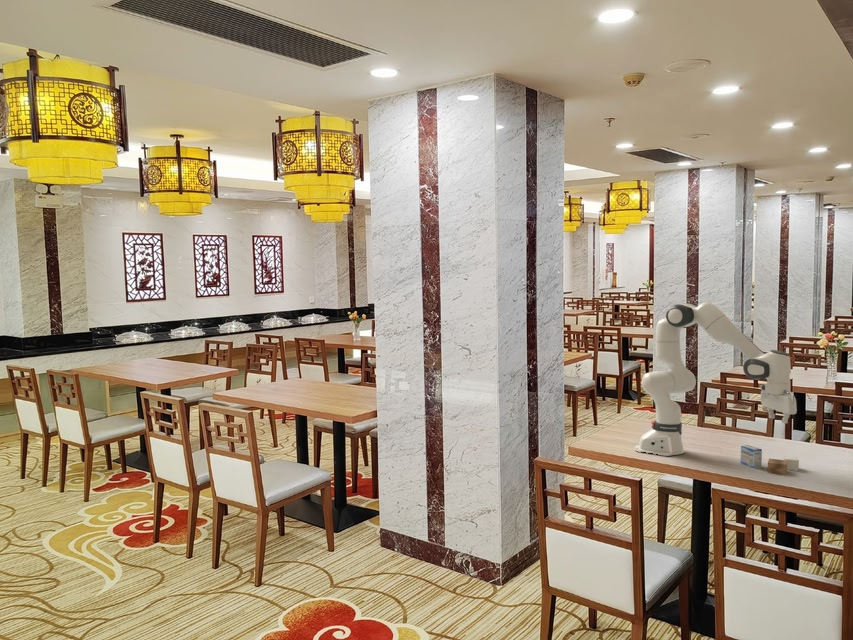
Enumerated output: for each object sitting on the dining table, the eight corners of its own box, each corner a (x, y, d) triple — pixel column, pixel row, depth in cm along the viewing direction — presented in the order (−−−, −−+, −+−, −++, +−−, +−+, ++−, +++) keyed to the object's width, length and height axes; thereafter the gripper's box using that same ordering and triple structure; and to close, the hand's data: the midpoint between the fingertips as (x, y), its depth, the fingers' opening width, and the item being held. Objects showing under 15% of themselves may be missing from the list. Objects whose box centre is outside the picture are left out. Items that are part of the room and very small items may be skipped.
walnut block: (767, 473, 285) (767, 462, 285) (768, 469, 291) (769, 458, 291) (786, 476, 282) (786, 464, 281) (787, 471, 288) (787, 460, 287)
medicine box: (740, 464, 299) (740, 445, 299) (747, 463, 301) (748, 444, 300) (754, 469, 292) (754, 449, 291) (762, 468, 293) (762, 448, 293)
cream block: (785, 470, 289) (785, 459, 289) (784, 467, 294) (784, 456, 294) (798, 471, 287) (798, 460, 287) (797, 468, 292) (797, 457, 292)
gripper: (801, 392, 274) (800, 425, 275) (771, 384, 294) (771, 415, 295) (786, 393, 273) (786, 426, 274) (758, 385, 294) (757, 415, 295)
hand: (778, 420), depth 285 cm, fingers open, 8 cm apart
